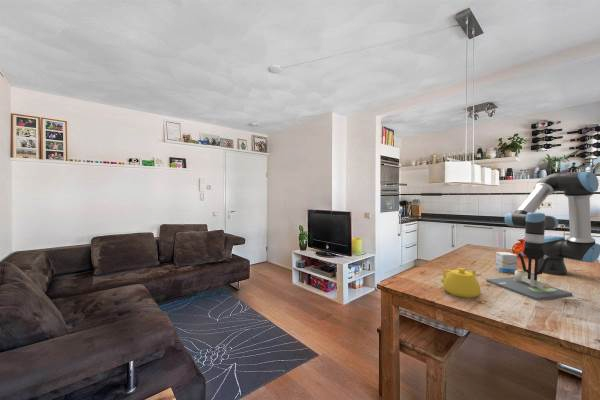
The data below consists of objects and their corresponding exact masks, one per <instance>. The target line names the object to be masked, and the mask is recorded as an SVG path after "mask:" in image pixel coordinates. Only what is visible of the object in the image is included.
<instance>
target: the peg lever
mask: <svg viewBox="0 0 600 400" xmlns="http://www.w3.org/2000/svg"><path fill="white" fill-rule="evenodd" d="M514 277H515V280H516V281H520V282H526V283H529V284H530V279H528V273H527V272H525V271H524V270H523V269H518V268H517V270H515V273H514ZM534 286H536V287H538V288H541V289H547V288H548V289H550V287H549V286H550V285H548V282H546V281H542V280H540V279H538V278H537V281H536V280H534Z"/></svg>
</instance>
